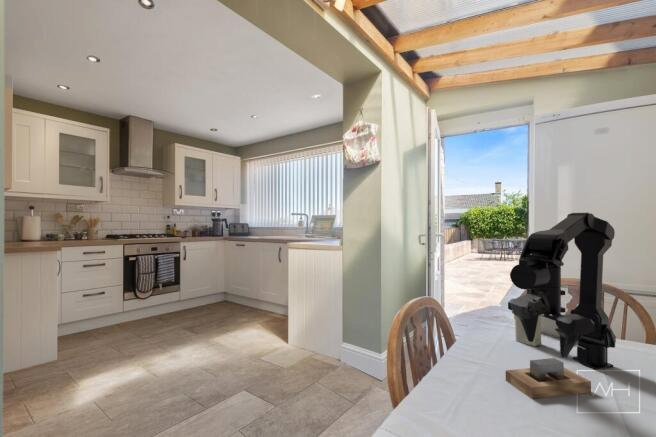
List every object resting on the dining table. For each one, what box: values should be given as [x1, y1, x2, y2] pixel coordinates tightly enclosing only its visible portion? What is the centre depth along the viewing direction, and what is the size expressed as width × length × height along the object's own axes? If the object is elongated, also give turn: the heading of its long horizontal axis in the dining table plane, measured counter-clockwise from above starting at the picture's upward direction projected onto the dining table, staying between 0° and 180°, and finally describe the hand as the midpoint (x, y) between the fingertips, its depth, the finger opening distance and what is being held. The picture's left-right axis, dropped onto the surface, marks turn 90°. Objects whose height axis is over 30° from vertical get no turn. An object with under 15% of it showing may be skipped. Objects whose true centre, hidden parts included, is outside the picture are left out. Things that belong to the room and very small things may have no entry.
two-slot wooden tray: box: [505, 367, 592, 400], centre depth 74 cm, size 16×8×2 cm, turn 100°
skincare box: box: [514, 315, 542, 347], centre depth 101 cm, size 6×4×12 cm
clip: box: [529, 357, 565, 382], centre depth 74 cm, size 7×2×6 cm, turn 100°
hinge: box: [540, 312, 578, 344], centre depth 108 cm, size 17×5×10 cm, turn 25°
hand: (546, 349), depth 74 cm, fingers open, 9 cm apart
